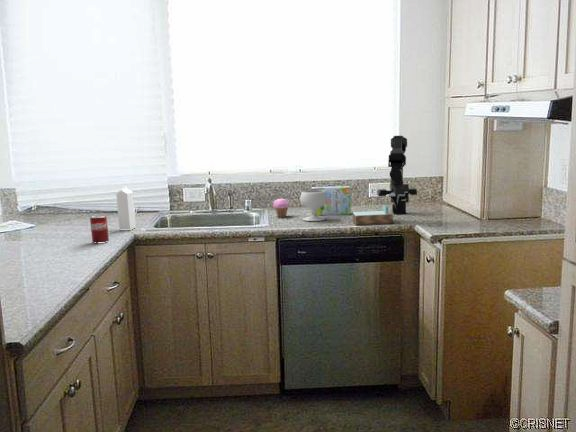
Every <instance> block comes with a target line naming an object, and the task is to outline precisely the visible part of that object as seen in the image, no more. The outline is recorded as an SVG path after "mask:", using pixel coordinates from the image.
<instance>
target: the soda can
mask: <svg viewBox="0 0 576 432" xmlns="http://www.w3.org/2000/svg"><path fill="white" fill-rule="evenodd" d="M89 221H90V222H89V224H90V232H91V233H90V234H91V241H92V243H93V242H96V243H98V242H106V241H108V242H109V241H110V238H109V231H108V230H109V229H108V218H107V216H106V215H103V214H97V215H93V216H90V218H89ZM106 243H107V242H106Z"/></svg>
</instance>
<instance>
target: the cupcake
mask: <svg viewBox="0 0 576 432" xmlns="http://www.w3.org/2000/svg"><path fill="white" fill-rule="evenodd" d="M272 207H273V208H274V209H275V212H276V213H275V214H276V217H278V218H286V217H287V213H288V210H289V209H288V208H289V207H290V203H289V201H288V200H287V199H286V198H277V199H275V200H274V201H273V205H272Z"/></svg>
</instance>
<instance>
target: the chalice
mask: <svg viewBox="0 0 576 432" xmlns="http://www.w3.org/2000/svg"><path fill="white" fill-rule="evenodd" d="M299 199H300V200H299V201H300V203H301V205H302V206H303V207H306V208H308V209H309V211H310V212H311V216H307V217H304V218H303V219H302V220H303V221H306V222H321V221H325V220H327V218H326V217H325V216H320V215H316V211H317V210H318V209H319V208H320V207H322V206H323V205H325V204H326V202H327V194H326V192H325V191H324V190H311V189H306V190H302V191H301V193H300V198H299ZM312 213H313V214H312Z"/></svg>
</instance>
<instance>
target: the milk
mask: <svg viewBox="0 0 576 432" xmlns="http://www.w3.org/2000/svg"><path fill="white" fill-rule="evenodd" d="M120 188H121V189H120V191H118V192H117V193H115V194H116V204H117V215H118V216H117V218H118V227H119V228H120V229H131V228H133V227H136V228H137V225H136V215H135V202H134V191H132V190H130V189H128V185H126V186H125V185H124V186H121V187H120ZM120 229H119V230H120Z"/></svg>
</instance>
